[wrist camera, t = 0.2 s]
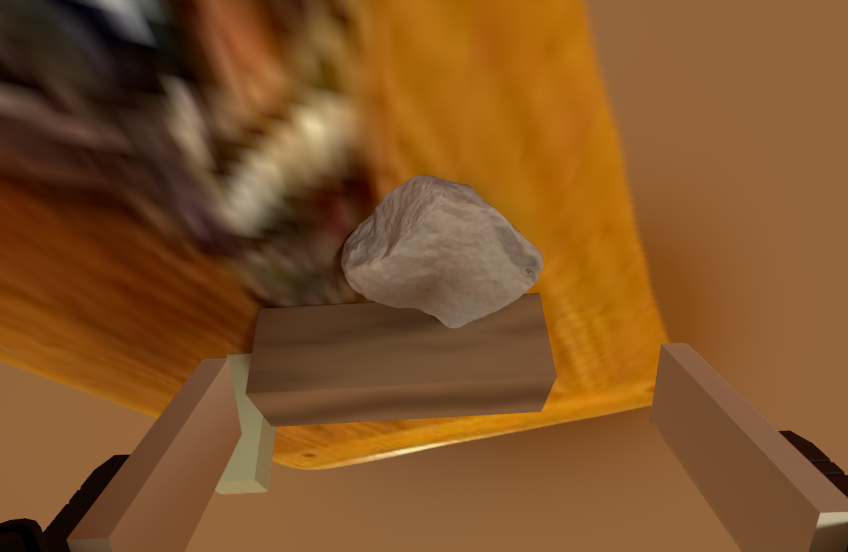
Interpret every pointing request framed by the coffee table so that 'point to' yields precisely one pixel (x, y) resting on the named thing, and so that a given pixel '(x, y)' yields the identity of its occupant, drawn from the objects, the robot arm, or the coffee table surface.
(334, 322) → the walnut beam
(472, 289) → the stone block
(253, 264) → the coffee table surface
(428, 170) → the coffee table surface
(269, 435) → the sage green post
